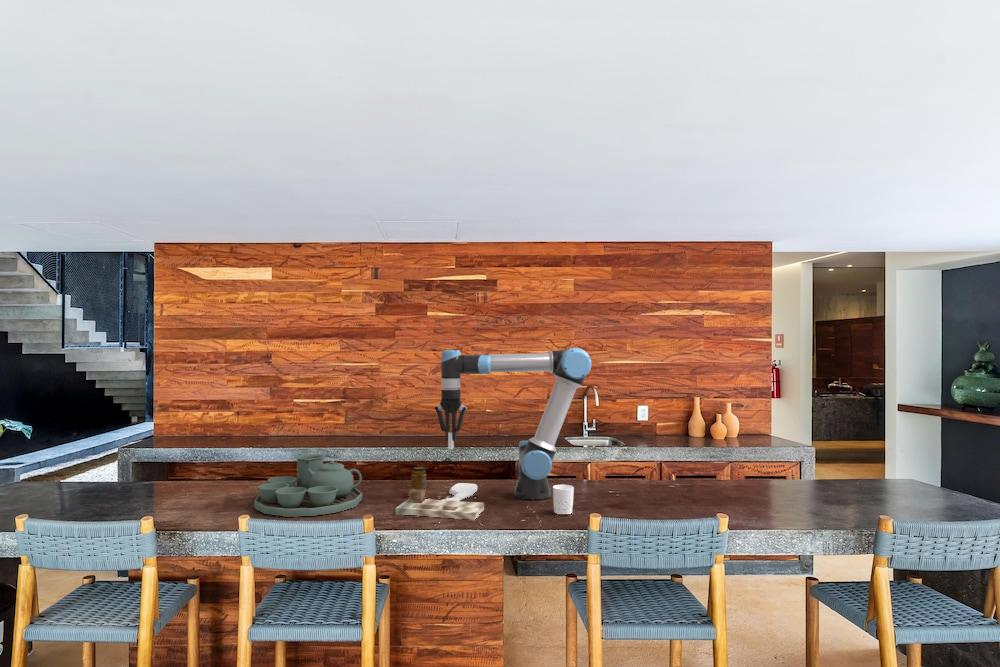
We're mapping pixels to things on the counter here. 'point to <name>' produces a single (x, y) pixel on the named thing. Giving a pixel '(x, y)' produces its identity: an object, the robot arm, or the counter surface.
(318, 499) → the tea set
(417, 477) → the condiment
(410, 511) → the trap deck
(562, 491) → the white cup
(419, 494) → the walnut block
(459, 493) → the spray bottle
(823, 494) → the counter surface
